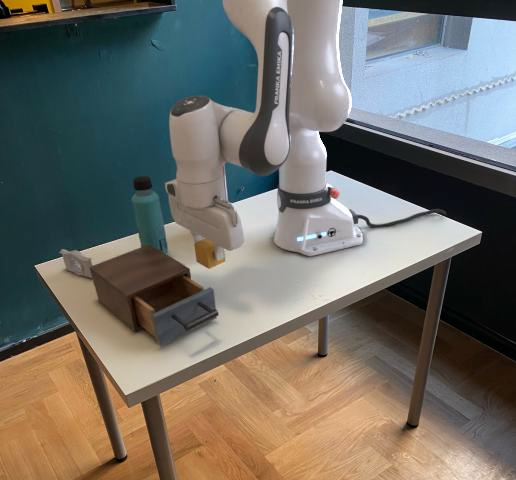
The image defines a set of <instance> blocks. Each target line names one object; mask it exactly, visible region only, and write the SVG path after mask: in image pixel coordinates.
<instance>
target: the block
mask: <svg viewBox="0 0 516 480" xmlns="http://www.w3.org/2000/svg"><path fill="white" fill-rule="evenodd" d="M193 248H194V254H195V260H196V263H197V264H199V265H201V266H203V267H205V268H207V269H208V270H210V269H212V268H214V267H217V266H218V265H220V264H223V263H225V262H226V254H225V250H224V251H223V254H224V258H223V259H222V260H220V261H217V260H215V259H214V258H213V254H212V252H213V251H215V248H216V247H215V246H214V243H213V242H211V241H209V240H207V239H205V238H204V239H203V240H200V241H198V242H194V243H193Z"/></svg>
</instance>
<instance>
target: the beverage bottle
mask: <svg viewBox="0 0 516 480" xmlns="http://www.w3.org/2000/svg"><path fill="white" fill-rule="evenodd" d="M132 182H133V189H134V190H135V191H136V192H135V193H134V195H132V197H131V202H132V207H133V213H134V218H135V221H136V229H137V233H138V238H139V239H138V240H139V243H140V247H143V246H146V245H148V244H150V245H152V246H153V247H155V248H157V249H158V250H160V251H162V252H163V253H165V254H166V255H168V252H169V245H168V244H169V242H168V239H167V234H166V227H165V223H164V217H163V215H164V214H163V209H162V207H161V202H160V196H159V194H158V192H155V191H154V190H152V188H153V183H152V179H151V177H150V176H147V175H140V176H137V177H135V178H133V180H132Z"/></svg>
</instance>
